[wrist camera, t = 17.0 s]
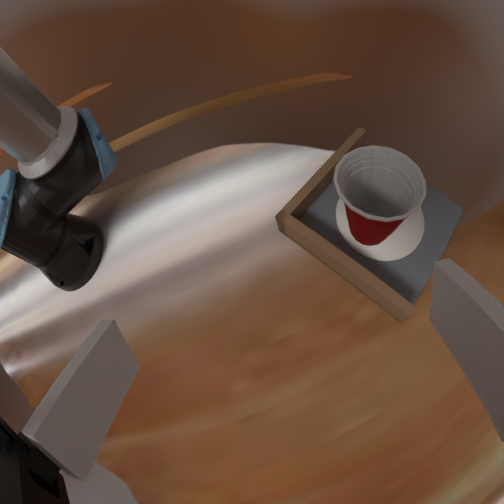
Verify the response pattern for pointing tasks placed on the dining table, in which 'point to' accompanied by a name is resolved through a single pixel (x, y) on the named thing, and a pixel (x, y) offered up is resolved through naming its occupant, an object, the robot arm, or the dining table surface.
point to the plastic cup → (378, 191)
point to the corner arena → (377, 256)
